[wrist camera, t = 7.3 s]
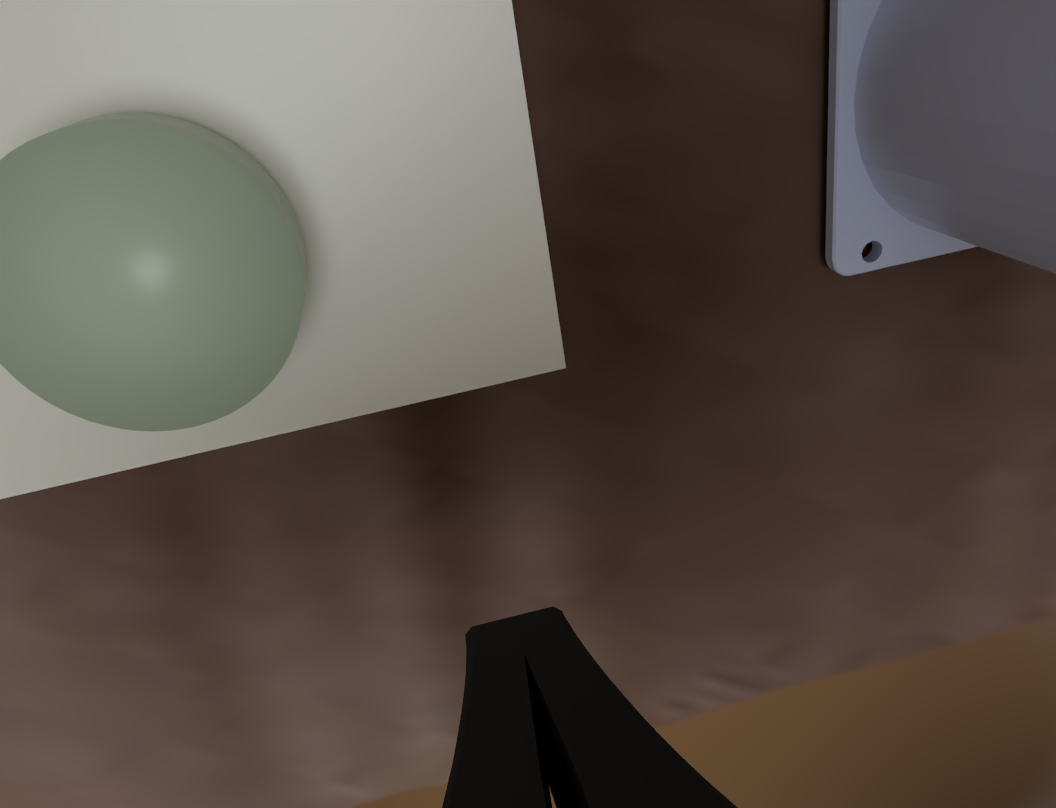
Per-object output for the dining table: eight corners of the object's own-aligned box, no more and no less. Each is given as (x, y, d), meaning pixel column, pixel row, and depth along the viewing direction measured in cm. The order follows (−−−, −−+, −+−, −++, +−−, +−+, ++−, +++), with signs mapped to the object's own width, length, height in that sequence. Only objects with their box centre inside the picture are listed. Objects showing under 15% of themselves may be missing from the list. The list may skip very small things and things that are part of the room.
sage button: (259, 85, 13) (246, 94, 12) (338, 357, 15) (337, 394, 14) (-57, 144, 13) (-112, 160, 11) (74, 417, 15) (43, 461, 13)
